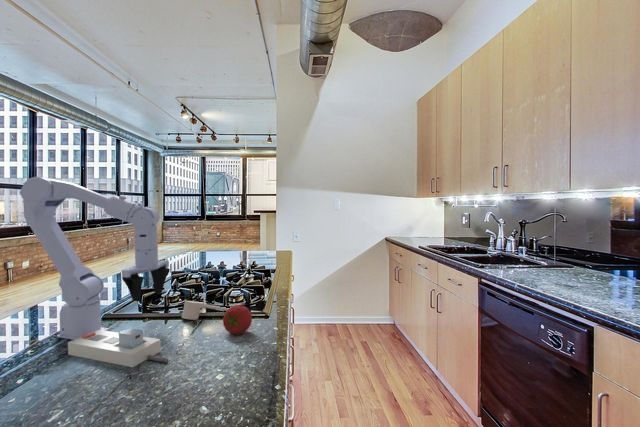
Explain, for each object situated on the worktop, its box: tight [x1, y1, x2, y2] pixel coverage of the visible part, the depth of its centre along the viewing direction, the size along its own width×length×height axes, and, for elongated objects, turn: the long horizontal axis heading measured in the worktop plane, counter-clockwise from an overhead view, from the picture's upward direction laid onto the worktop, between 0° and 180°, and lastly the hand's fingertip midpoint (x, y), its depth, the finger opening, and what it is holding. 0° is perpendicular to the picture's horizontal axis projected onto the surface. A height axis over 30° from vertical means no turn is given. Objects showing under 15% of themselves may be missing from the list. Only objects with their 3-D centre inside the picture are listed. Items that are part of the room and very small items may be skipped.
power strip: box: [67, 330, 170, 368], centre depth 78 cm, size 26×8×4 cm, turn 72°
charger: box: [118, 327, 144, 349], centre depth 77 cm, size 4×3×6 cm
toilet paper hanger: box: [181, 300, 229, 321], centre depth 106 cm, size 20×5×16 cm
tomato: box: [222, 304, 253, 336], centre depth 90 cm, size 8×8×8 cm
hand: (147, 296), depth 93 cm, fingers open, 7 cm apart
